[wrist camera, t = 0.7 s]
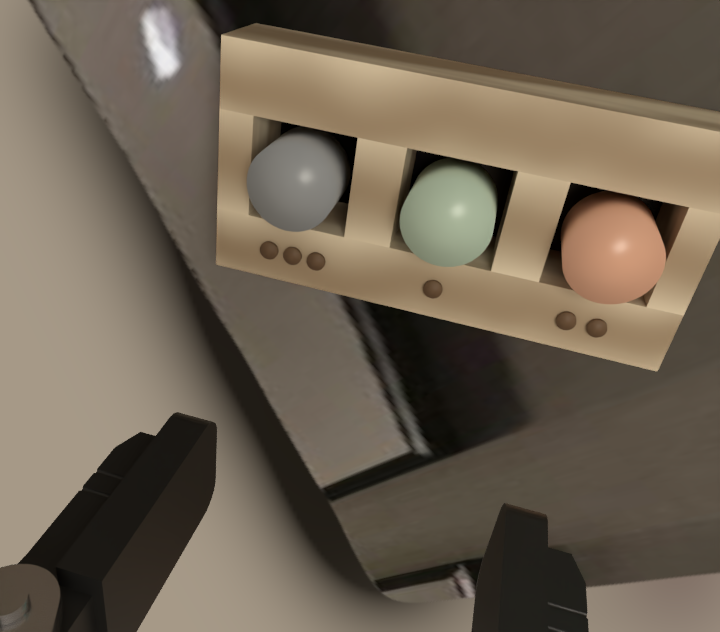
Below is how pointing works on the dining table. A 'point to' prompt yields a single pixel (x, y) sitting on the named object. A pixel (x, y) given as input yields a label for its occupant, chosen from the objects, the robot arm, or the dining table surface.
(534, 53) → the dining table surface
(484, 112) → the button panel
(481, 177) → the sage button
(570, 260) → the terracotta button
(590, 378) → the dining table surface
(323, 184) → the slate button
